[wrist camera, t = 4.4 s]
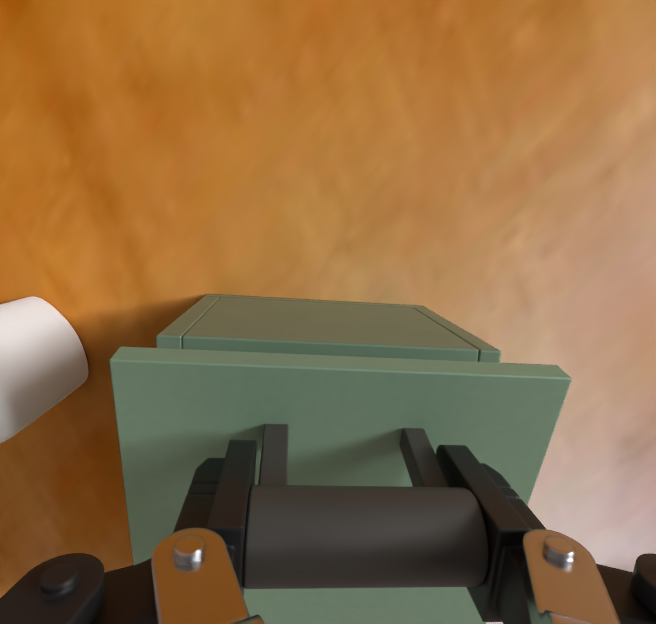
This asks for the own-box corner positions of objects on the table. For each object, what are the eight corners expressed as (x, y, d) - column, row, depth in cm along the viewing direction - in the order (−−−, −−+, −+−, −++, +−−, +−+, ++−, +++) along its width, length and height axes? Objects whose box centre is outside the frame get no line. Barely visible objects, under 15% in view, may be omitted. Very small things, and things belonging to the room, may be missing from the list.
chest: (206, 293, 25) (155, 335, 15) (423, 305, 26) (502, 350, 17) (201, 524, 28) (155, 682, 18) (399, 525, 29) (454, 673, 19)
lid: (119, 345, 12) (5, 489, 7) (557, 364, 13) (704, 497, 9) (155, 682, 18) (106, 882, 13) (455, 673, 19) (508, 852, 15)
